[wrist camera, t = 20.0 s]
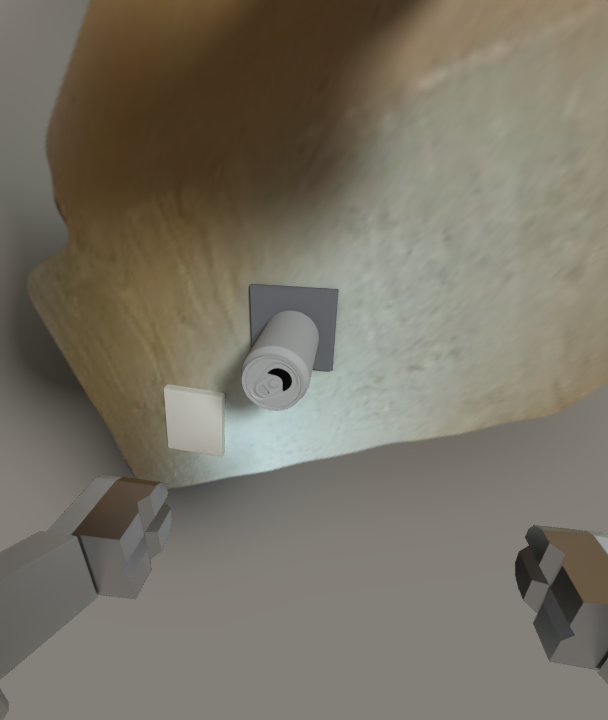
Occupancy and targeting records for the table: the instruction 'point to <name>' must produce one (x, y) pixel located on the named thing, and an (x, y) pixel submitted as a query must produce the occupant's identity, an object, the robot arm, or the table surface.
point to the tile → (195, 420)
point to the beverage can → (281, 361)
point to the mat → (301, 299)
